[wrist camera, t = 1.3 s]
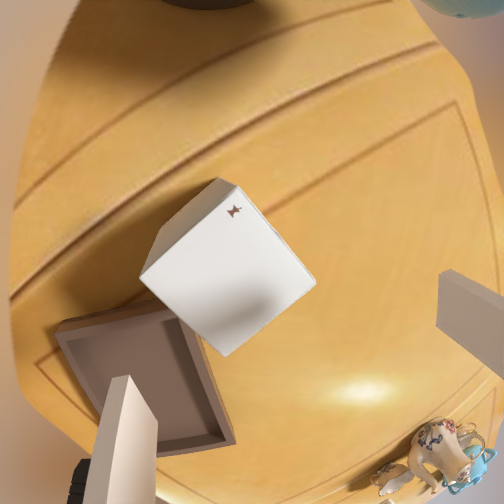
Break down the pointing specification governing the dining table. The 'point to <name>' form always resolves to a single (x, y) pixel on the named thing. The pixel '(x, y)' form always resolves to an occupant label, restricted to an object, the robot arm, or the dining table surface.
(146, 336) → the tray
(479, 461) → the teapot
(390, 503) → the ink box
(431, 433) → the chinaware
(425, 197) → the dining table surface
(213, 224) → the supplement box
